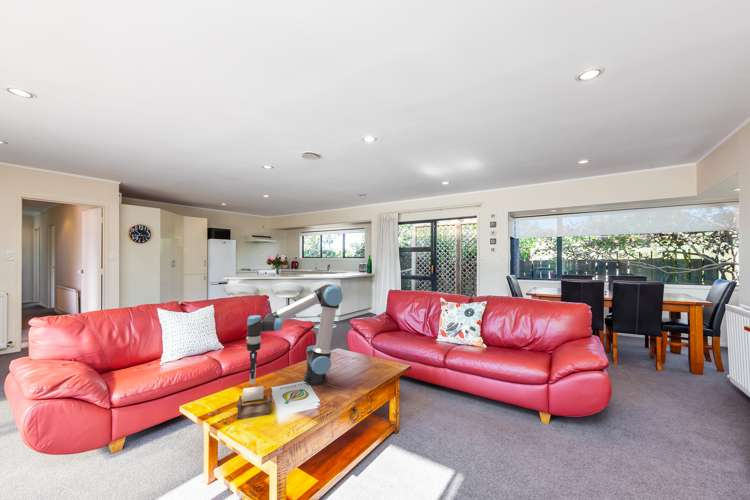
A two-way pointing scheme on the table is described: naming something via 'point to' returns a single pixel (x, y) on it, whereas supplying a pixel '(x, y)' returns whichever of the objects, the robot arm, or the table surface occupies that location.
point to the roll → (253, 393)
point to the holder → (253, 408)
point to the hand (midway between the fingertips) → (252, 379)
